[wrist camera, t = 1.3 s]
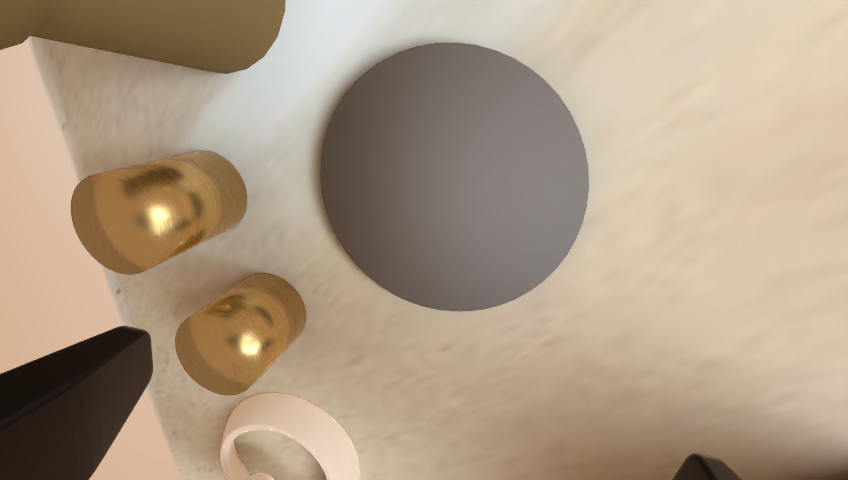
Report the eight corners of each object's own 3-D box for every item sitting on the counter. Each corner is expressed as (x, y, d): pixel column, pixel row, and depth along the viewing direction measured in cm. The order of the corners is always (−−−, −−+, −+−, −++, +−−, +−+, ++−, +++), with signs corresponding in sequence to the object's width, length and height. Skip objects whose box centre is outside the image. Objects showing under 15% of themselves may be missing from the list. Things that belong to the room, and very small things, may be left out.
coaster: (629, 256, 17) (631, 261, 17) (396, 333, 21) (392, 340, 20) (519, -16, 15) (518, -18, 15) (283, 121, 19) (275, 123, 18)
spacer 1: (261, 213, 21) (178, 253, 16) (203, 242, 22) (111, 287, 17) (218, 136, 20) (118, 156, 15) (160, 171, 21) (53, 199, 17)
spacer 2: (319, 330, 22) (272, 382, 18) (261, 351, 23) (207, 404, 20) (280, 262, 21) (224, 302, 18) (223, 288, 22) (159, 330, 19)
